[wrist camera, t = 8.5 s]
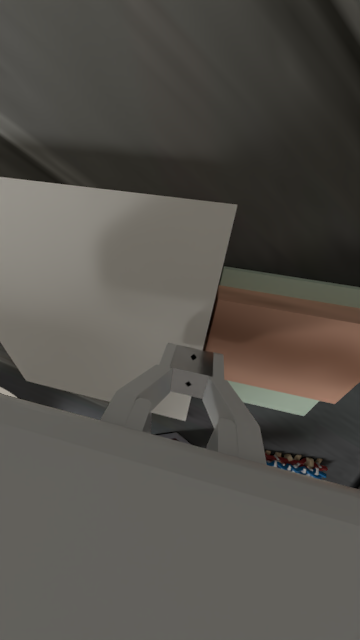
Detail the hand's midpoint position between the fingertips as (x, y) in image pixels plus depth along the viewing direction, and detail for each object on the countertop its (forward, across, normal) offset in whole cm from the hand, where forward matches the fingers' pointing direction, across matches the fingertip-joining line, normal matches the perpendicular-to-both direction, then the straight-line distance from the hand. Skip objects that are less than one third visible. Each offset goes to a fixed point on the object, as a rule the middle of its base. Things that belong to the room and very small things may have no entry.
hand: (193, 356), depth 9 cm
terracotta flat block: (+3, +5, 0) cm, 6 cm away
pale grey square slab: (+4, -8, -1) cm, 9 cm away
